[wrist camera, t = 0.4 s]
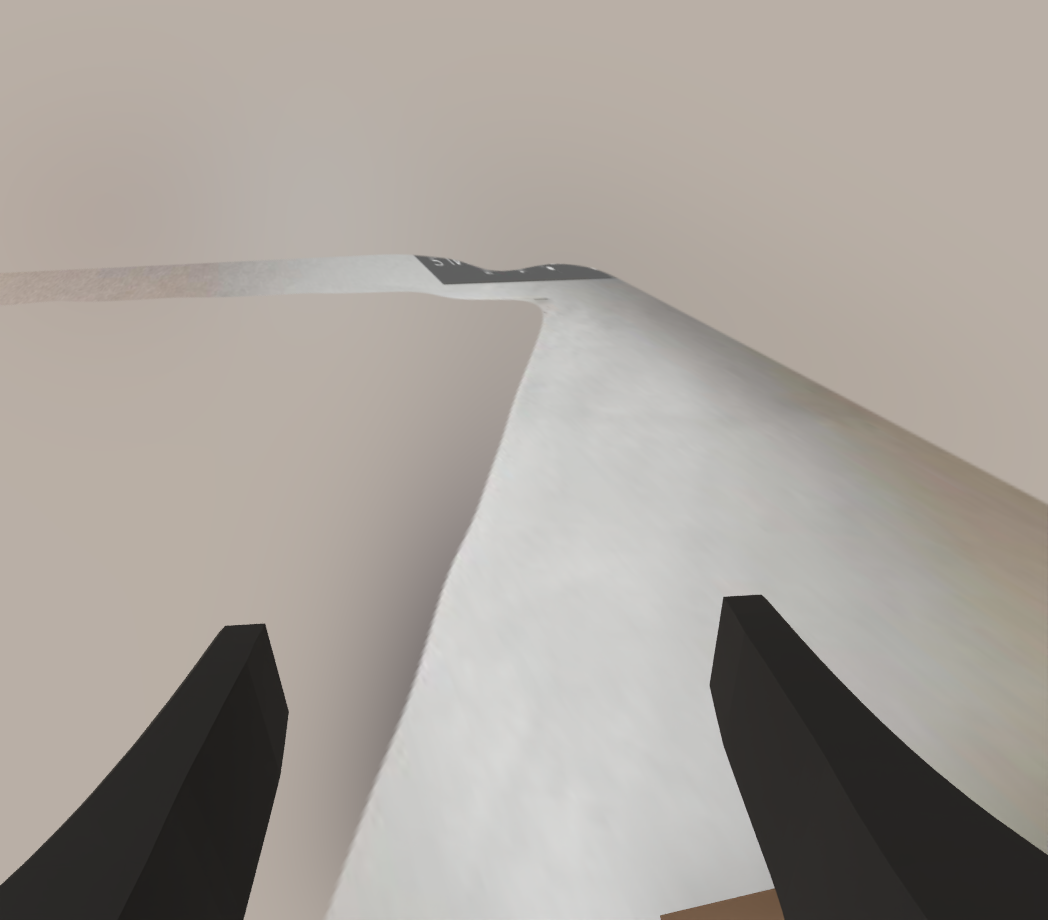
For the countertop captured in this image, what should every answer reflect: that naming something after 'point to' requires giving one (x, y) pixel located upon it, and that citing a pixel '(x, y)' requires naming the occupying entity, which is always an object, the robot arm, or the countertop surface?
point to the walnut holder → (735, 909)
